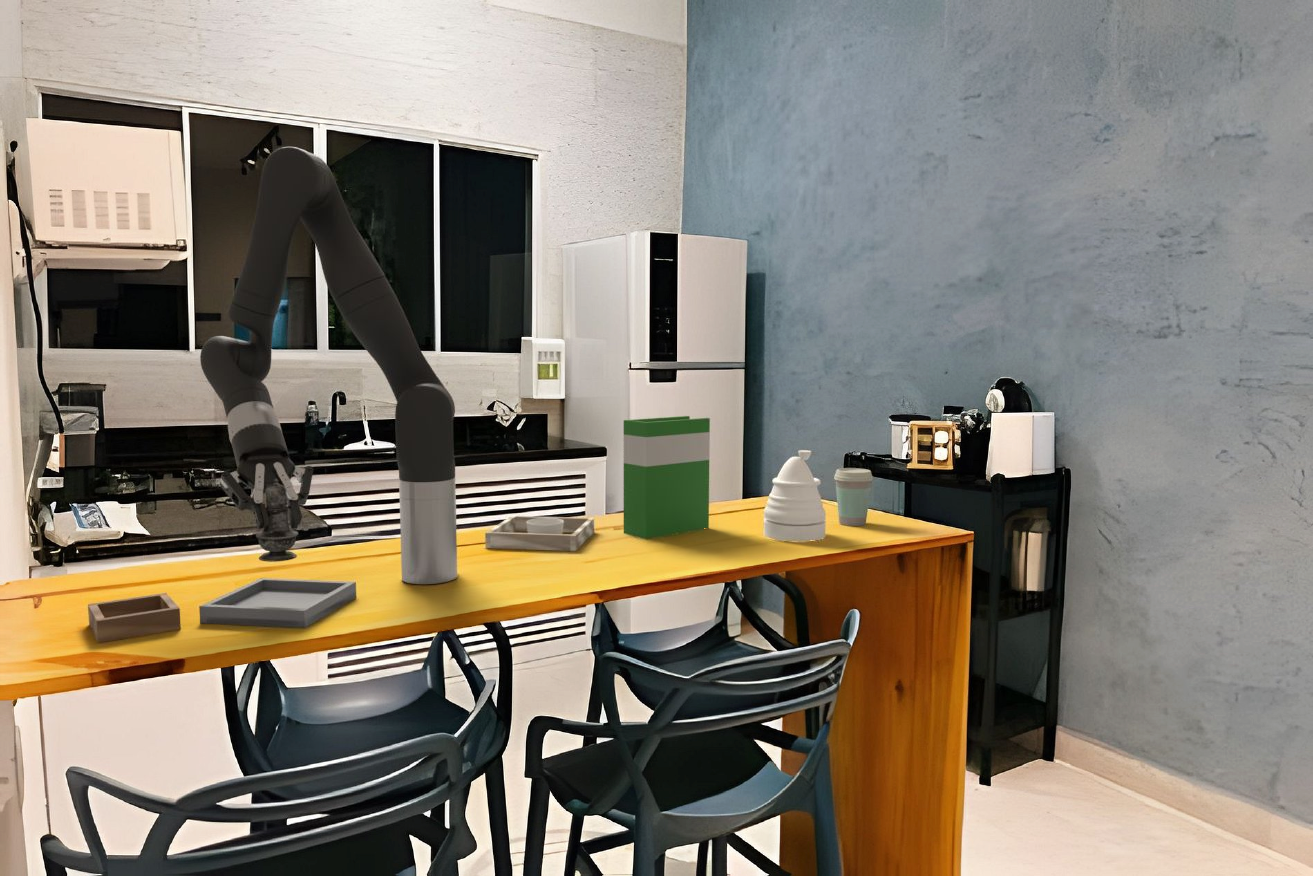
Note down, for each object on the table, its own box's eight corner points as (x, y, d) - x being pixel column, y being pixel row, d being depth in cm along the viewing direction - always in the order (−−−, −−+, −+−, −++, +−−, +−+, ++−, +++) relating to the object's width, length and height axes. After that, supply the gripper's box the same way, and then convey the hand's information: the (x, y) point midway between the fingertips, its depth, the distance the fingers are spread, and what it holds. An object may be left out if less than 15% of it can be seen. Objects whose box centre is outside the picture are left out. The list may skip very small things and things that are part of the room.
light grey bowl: (566, 550, 182) (566, 526, 181) (516, 549, 182) (515, 526, 182) (573, 539, 192) (573, 516, 191) (525, 538, 192) (524, 516, 192)
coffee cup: (866, 519, 213) (867, 467, 211) (876, 527, 204) (877, 473, 203) (829, 520, 212) (830, 467, 211) (837, 527, 204) (838, 473, 203)
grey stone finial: (281, 551, 144) (279, 474, 142) (307, 556, 141) (305, 477, 139) (248, 558, 139) (245, 478, 137) (273, 564, 136) (271, 482, 134)
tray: (261, 593, 149) (261, 578, 149) (356, 597, 147) (355, 581, 147) (200, 623, 134) (199, 606, 133) (304, 628, 132) (304, 610, 131)
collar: (89, 624, 133) (87, 604, 132) (167, 612, 139) (166, 592, 138) (98, 643, 125) (96, 621, 125) (180, 629, 131) (179, 608, 131)
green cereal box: (686, 523, 208) (686, 415, 206) (708, 528, 203) (709, 418, 200) (623, 533, 197) (623, 420, 194) (645, 539, 191) (645, 422, 189)
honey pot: (834, 533, 197) (836, 449, 196) (811, 545, 186) (813, 455, 185) (777, 527, 204) (779, 445, 202) (753, 538, 193) (754, 451, 191)
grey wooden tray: (512, 529, 200) (511, 515, 200) (594, 532, 198) (594, 518, 198) (485, 548, 183) (485, 532, 182) (575, 551, 180) (575, 535, 180)
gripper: (211, 423, 139) (233, 517, 131) (308, 420, 148) (335, 507, 139) (204, 455, 144) (226, 547, 136) (298, 449, 153) (324, 536, 144)
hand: (281, 526), depth 138 cm, fingers closed on grey stone finial, 3 cm apart
